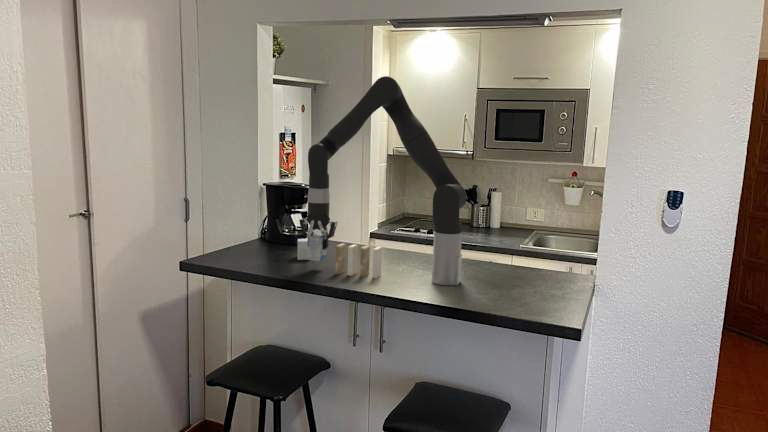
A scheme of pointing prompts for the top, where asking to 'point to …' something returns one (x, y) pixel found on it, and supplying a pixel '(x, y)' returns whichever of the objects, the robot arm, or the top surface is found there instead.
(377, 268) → the domino
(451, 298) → the top surface
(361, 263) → the domino
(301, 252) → the skincare box
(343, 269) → the domino
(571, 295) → the top surface
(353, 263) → the domino
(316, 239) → the medicine box
